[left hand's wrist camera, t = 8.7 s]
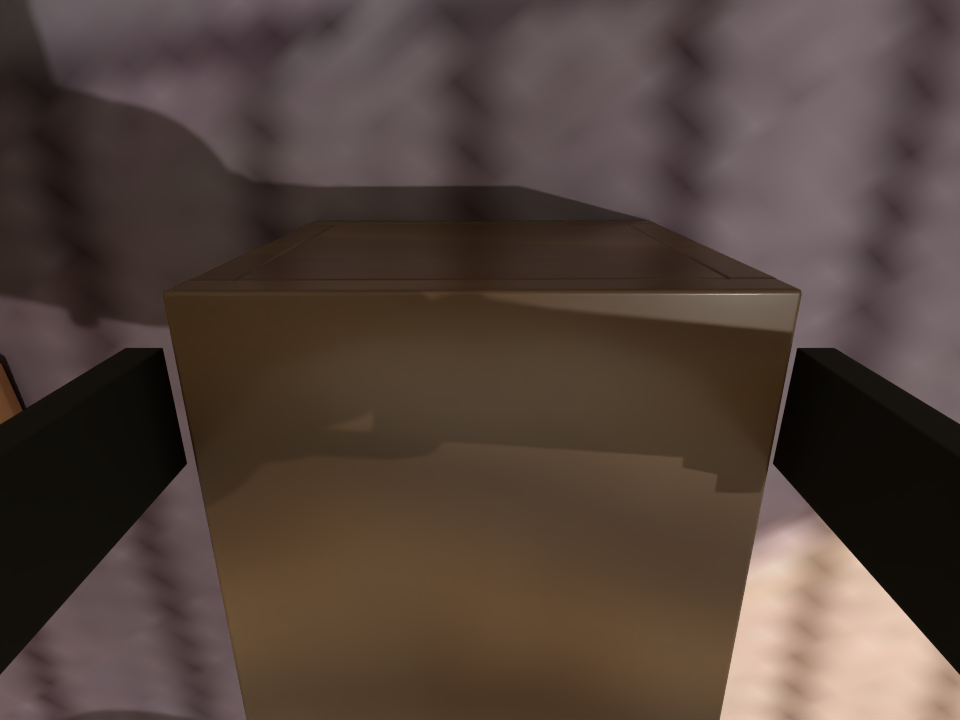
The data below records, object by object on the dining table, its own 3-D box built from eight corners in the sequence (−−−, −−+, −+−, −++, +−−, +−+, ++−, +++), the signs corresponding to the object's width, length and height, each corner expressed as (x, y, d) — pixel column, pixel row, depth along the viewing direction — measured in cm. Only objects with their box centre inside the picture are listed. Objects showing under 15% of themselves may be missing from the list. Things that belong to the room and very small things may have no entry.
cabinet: (606, 676, 27) (673, 963, 18) (359, 677, 27) (293, 963, 18) (649, 220, 20) (805, 289, 10) (313, 221, 20) (159, 291, 10)
